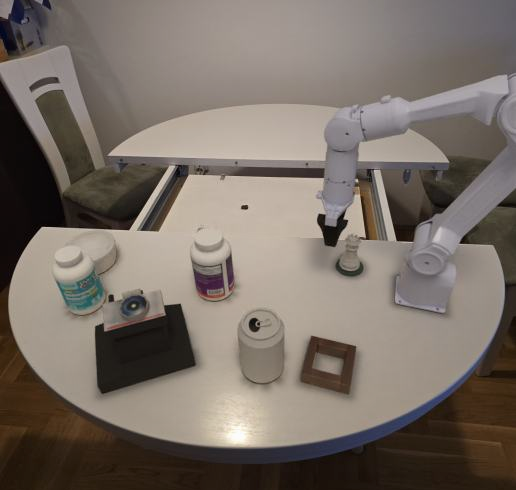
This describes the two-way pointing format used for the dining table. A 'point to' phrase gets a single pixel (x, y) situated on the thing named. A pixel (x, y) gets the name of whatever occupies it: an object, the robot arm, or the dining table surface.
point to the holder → (327, 378)
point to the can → (261, 345)
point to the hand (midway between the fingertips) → (333, 233)
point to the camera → (140, 340)
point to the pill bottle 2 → (212, 264)
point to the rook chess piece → (350, 254)
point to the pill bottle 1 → (78, 280)
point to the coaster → (349, 273)
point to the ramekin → (97, 248)
